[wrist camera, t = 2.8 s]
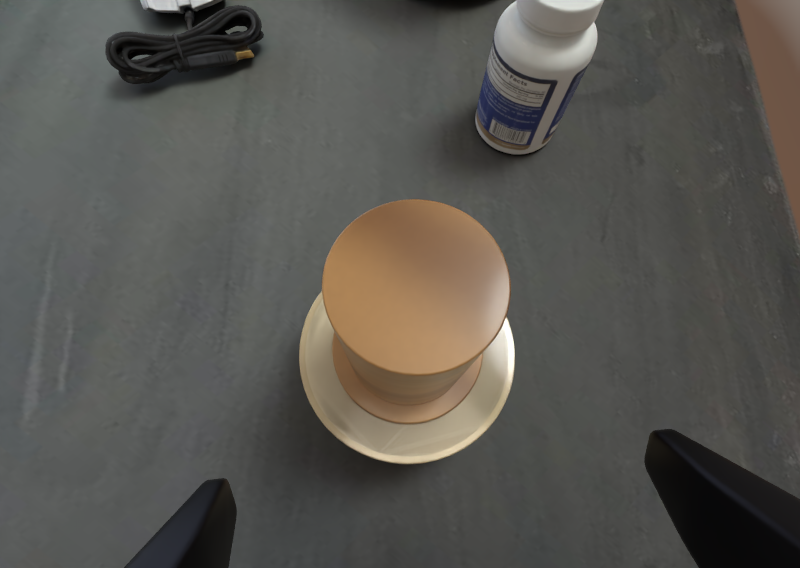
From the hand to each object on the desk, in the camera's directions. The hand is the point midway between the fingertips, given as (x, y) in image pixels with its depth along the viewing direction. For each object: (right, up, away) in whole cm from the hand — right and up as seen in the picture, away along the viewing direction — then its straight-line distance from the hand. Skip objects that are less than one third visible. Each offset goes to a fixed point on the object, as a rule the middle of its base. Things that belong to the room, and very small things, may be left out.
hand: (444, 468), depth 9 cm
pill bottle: (+7, +15, +21) cm, 26 cm away
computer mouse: (-18, +26, +25) cm, 40 cm away
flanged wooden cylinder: (-1, +1, +10) cm, 10 cm away
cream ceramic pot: (-1, -1, +14) cm, 14 cm away
